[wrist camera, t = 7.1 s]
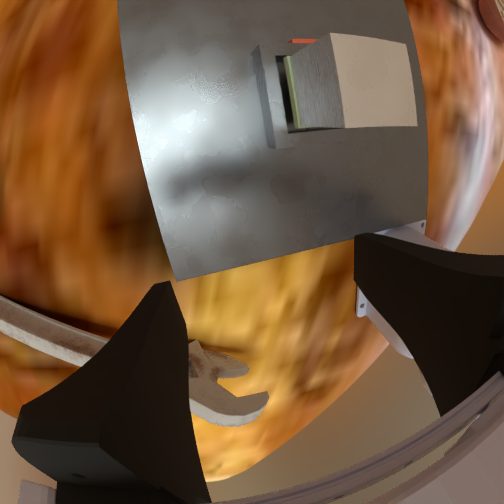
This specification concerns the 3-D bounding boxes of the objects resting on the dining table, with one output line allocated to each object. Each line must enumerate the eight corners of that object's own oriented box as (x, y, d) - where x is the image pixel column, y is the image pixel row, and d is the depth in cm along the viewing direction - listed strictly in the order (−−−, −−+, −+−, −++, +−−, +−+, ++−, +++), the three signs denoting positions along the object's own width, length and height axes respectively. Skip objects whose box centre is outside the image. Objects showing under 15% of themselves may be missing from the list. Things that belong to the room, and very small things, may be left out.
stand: (416, 214, 23) (440, 227, 20) (177, 271, 21) (175, 297, 18) (389, -9, 14) (413, -19, 11) (120, -6, 11) (110, -27, 8)
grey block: (358, 123, 15) (419, 128, 10) (294, 128, 14) (343, 131, 10) (348, 59, 13) (406, 42, 8) (283, 58, 13) (326, 30, 8)
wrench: (-10, 270, 19) (261, 349, 25) (-8, 284, 20) (255, 362, 26) (-54, 308, 12) (274, 419, 18) (-49, 324, 13) (265, 431, 19)
